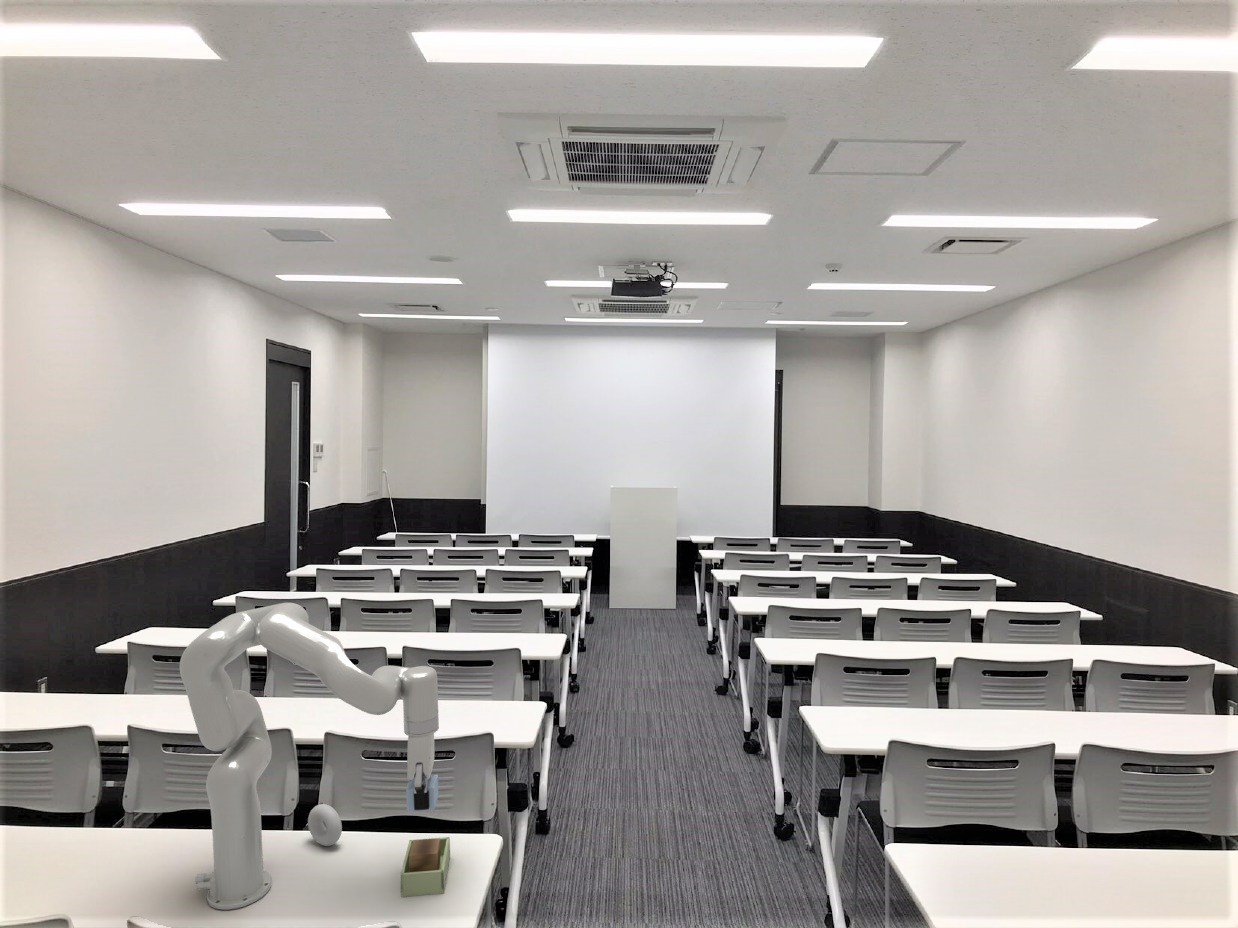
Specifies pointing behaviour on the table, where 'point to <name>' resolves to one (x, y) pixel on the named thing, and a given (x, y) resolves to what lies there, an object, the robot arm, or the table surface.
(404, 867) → the box
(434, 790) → the blue carton
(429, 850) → the walnut block
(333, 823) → the donut
